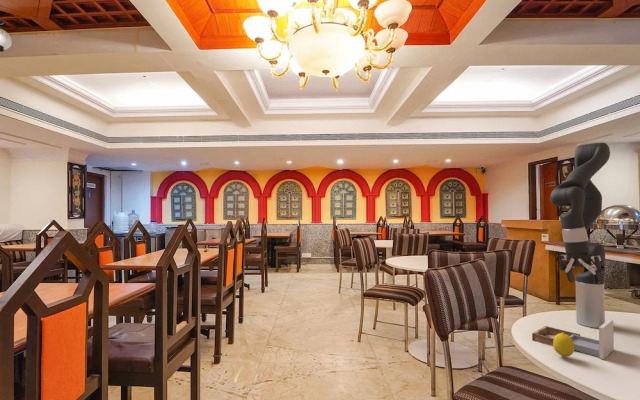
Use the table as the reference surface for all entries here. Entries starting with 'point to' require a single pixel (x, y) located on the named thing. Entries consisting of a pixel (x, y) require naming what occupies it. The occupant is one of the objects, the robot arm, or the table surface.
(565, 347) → the lemon
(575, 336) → the tray
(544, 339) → the frame
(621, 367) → the table surface
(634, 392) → the table surface
